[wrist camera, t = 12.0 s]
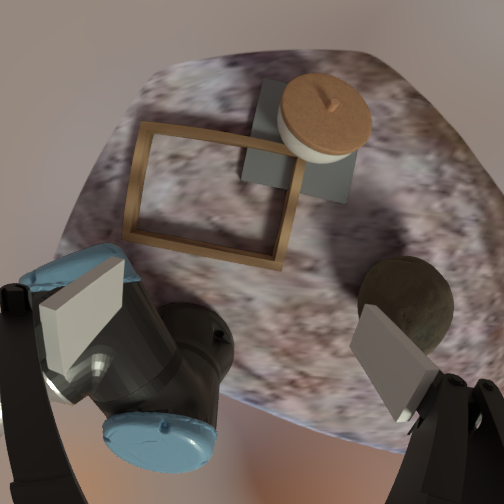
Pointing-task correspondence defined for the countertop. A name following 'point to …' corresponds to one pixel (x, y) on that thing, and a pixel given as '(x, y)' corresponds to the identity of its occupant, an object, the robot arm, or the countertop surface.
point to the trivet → (280, 167)
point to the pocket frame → (197, 247)
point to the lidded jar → (322, 118)
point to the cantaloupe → (410, 299)
